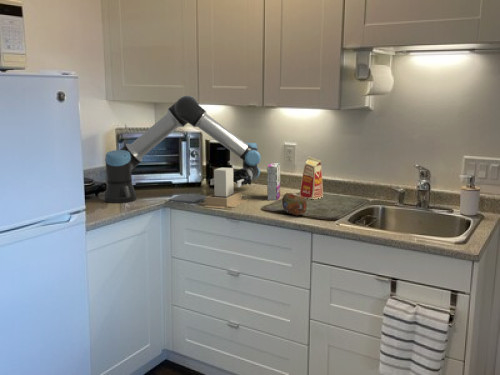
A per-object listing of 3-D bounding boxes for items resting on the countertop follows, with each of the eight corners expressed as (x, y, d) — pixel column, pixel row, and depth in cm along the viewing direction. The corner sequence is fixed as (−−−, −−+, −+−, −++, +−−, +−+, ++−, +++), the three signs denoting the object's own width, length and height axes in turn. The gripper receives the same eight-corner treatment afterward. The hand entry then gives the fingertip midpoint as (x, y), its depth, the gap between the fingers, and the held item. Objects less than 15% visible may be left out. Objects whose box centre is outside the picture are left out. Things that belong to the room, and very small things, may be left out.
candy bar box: (270, 195, 256) (270, 162, 253) (280, 195, 255) (280, 163, 252) (266, 200, 245) (266, 166, 242) (277, 200, 244) (277, 166, 241)
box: (214, 204, 238) (213, 169, 235) (222, 200, 245) (221, 167, 242) (226, 205, 236) (225, 170, 233) (233, 201, 243) (233, 168, 240)
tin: (281, 210, 225) (281, 191, 223) (287, 209, 226) (287, 190, 225) (301, 217, 212) (301, 197, 210) (307, 216, 214) (308, 196, 212)
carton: (196, 206, 234) (195, 197, 233) (218, 196, 254) (218, 188, 254) (230, 209, 227) (230, 200, 226) (250, 199, 248) (250, 191, 247)
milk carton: (299, 197, 250) (299, 157, 246) (309, 194, 257) (310, 155, 253) (314, 200, 244) (315, 158, 241) (325, 197, 251) (326, 156, 248)
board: (168, 201, 244) (168, 199, 244) (183, 195, 257) (183, 193, 257) (194, 203, 239) (194, 201, 239) (208, 197, 252) (208, 195, 251)
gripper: (265, 185, 253) (249, 193, 234) (220, 182, 263) (200, 189, 244) (265, 170, 252) (249, 176, 233) (219, 167, 262) (200, 173, 242)
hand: (224, 183), depth 238 cm, fingers open, 13 cm apart
